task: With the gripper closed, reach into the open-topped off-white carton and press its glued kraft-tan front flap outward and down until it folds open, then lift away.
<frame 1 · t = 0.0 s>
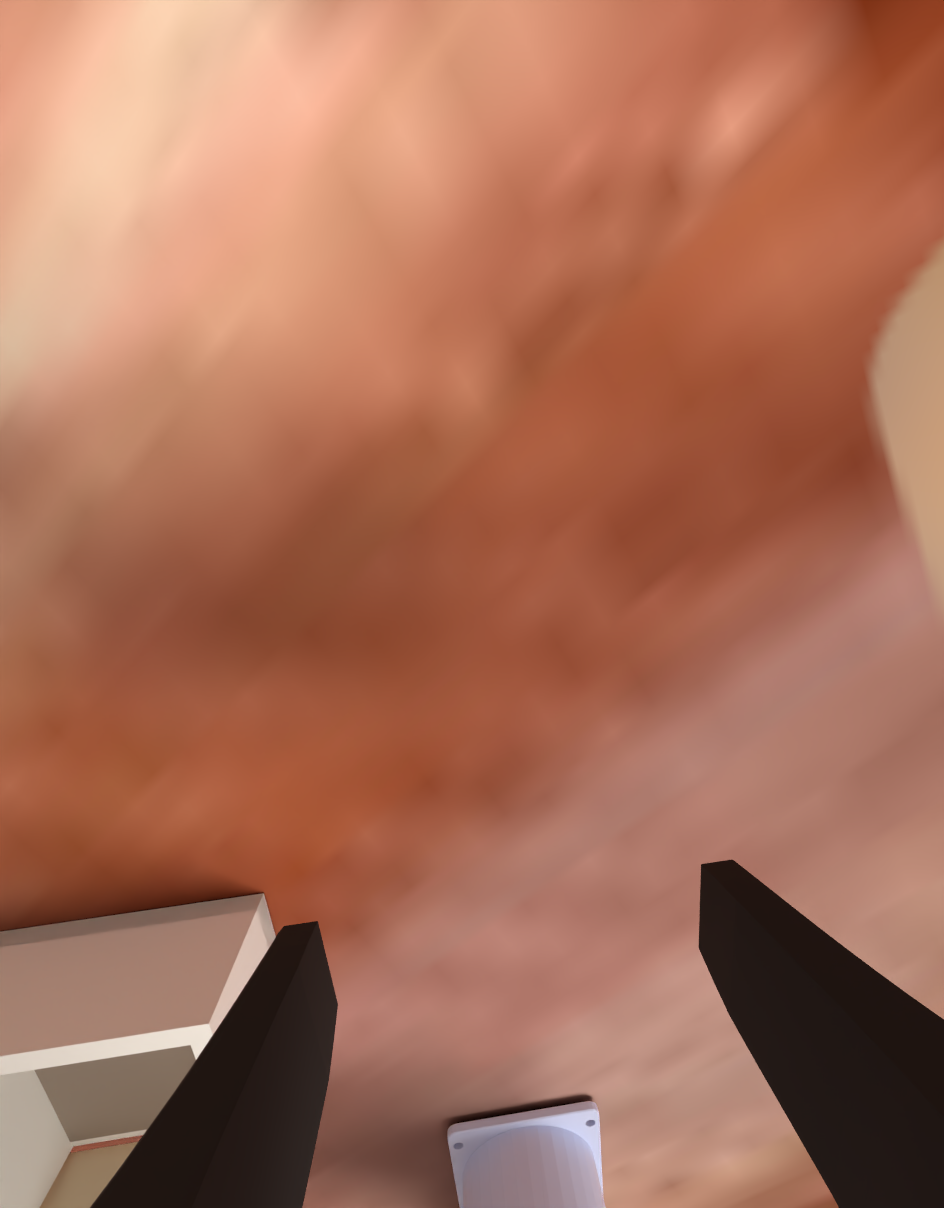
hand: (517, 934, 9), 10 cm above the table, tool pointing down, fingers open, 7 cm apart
flap: (165, 1203, 20), point 3 cm above the table, hinge at 0.0°
carton: (160, 1017, 21), on the table
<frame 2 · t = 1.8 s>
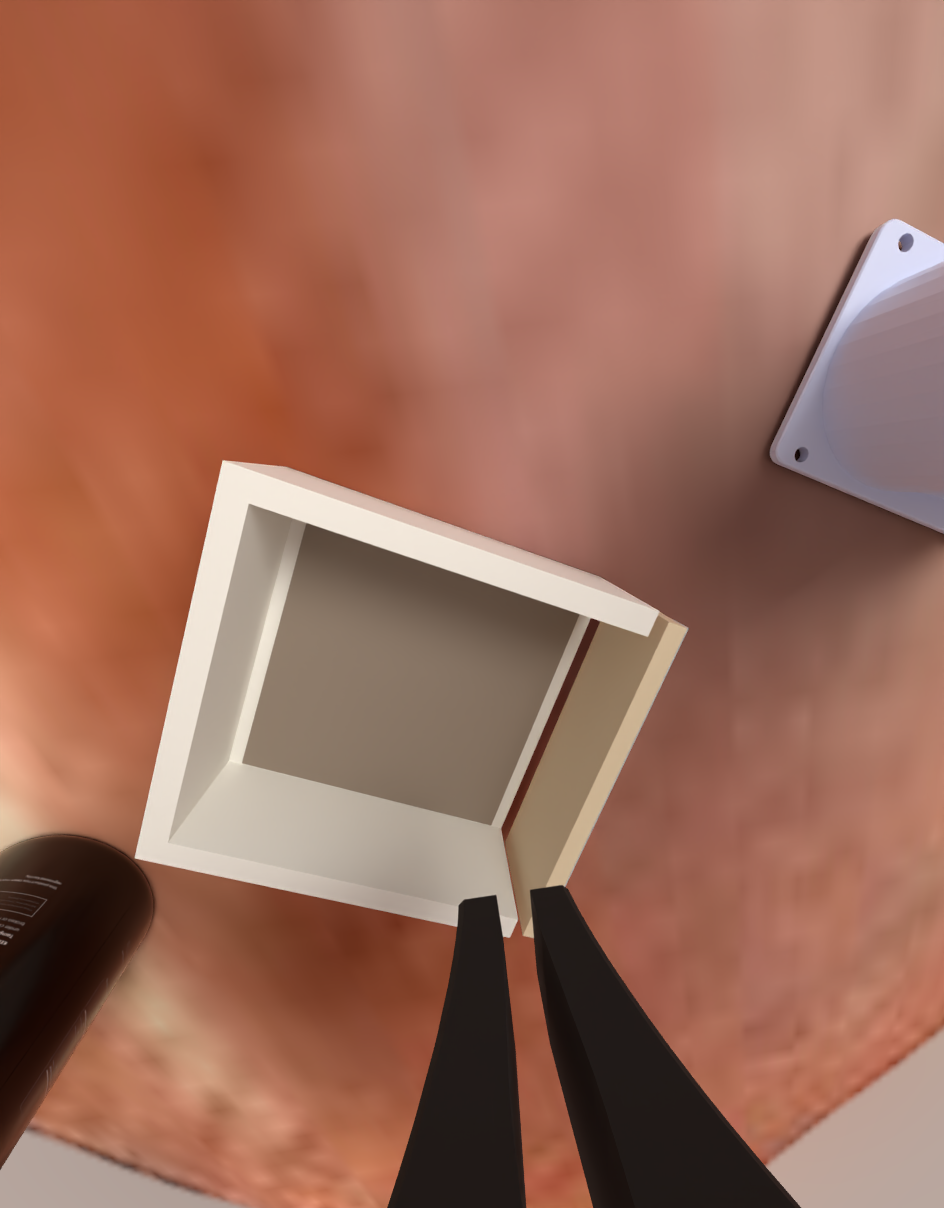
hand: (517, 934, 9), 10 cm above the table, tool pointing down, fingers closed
flap: (579, 756, 16), point 3 cm above the table, hinge at 0.0°
supplement bottle: (80, 891, 20), on the table
carton: (402, 670, 18), on the table
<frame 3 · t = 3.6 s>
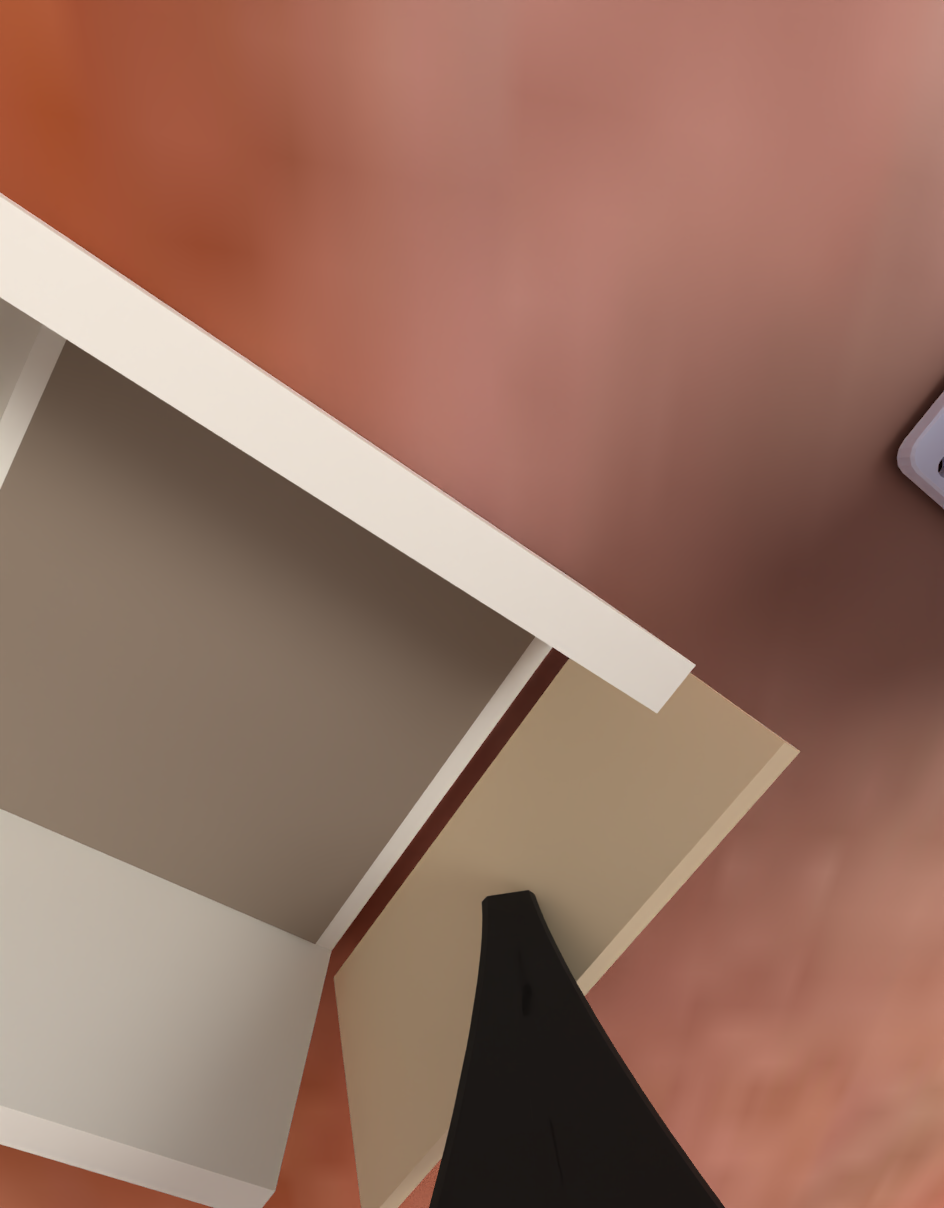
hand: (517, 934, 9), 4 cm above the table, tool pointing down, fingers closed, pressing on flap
flap: (505, 895, 9), point 3 cm above the table, hinge at 22.4°, touching gripper
carton: (221, 660, 11), on the table
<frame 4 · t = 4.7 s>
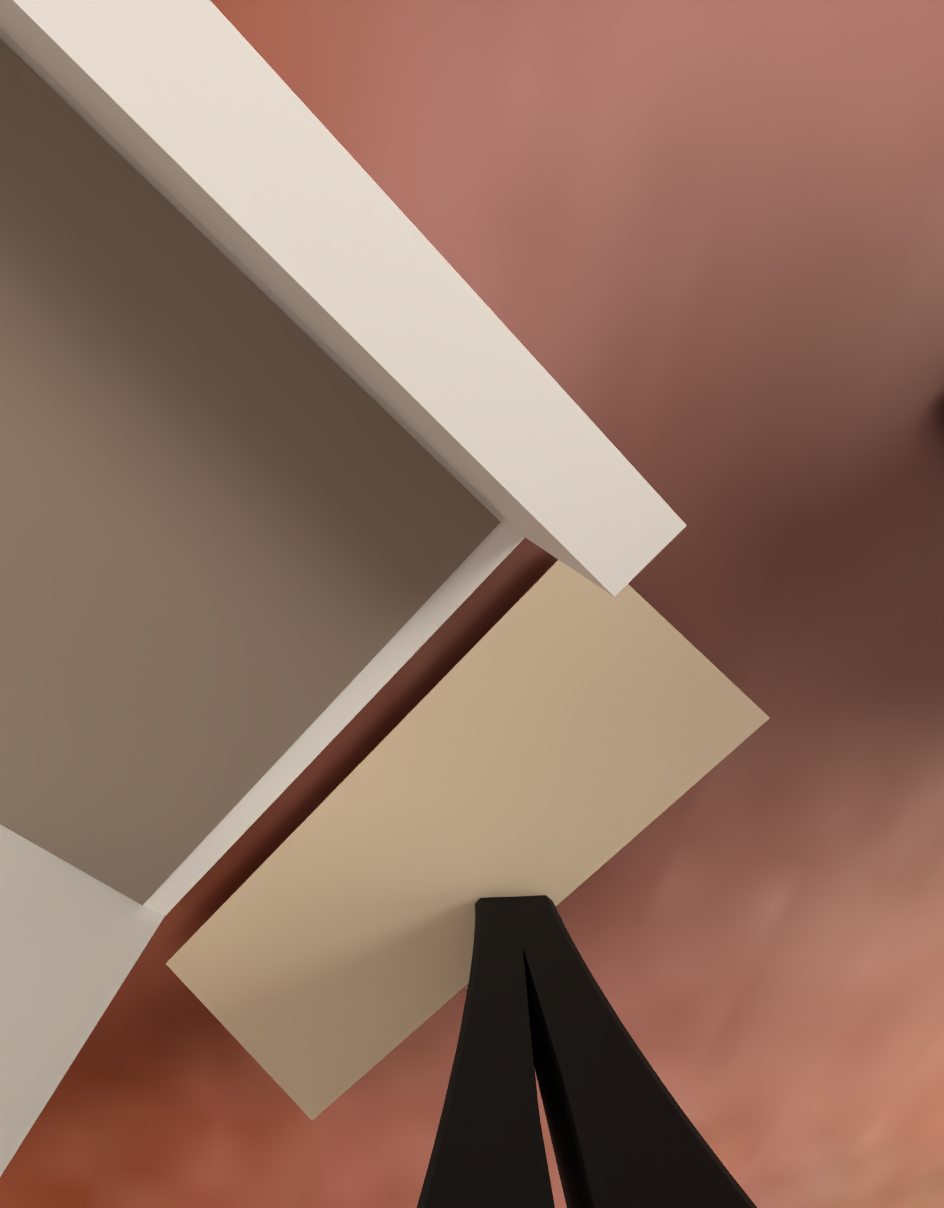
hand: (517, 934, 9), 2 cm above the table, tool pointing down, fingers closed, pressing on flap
flap: (438, 843, 9), point 1 cm above the table, hinge at 74.1°, touching gripper
carton: (65, 517, 8), on the table
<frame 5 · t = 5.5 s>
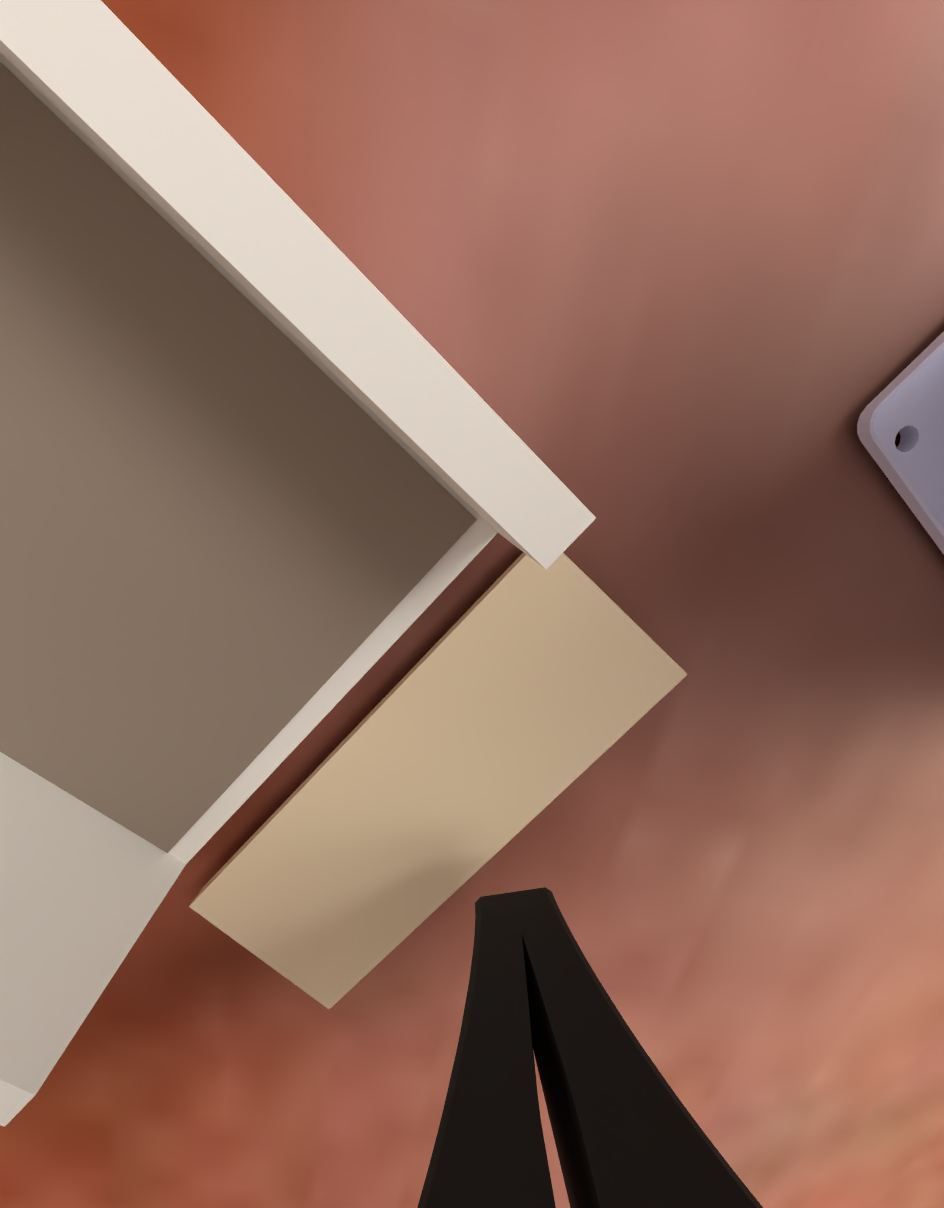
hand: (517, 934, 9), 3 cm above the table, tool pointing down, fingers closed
flap: (427, 787, 11), point 1 cm above the table, hinge at 84.1°
carton: (106, 514, 9), on the table
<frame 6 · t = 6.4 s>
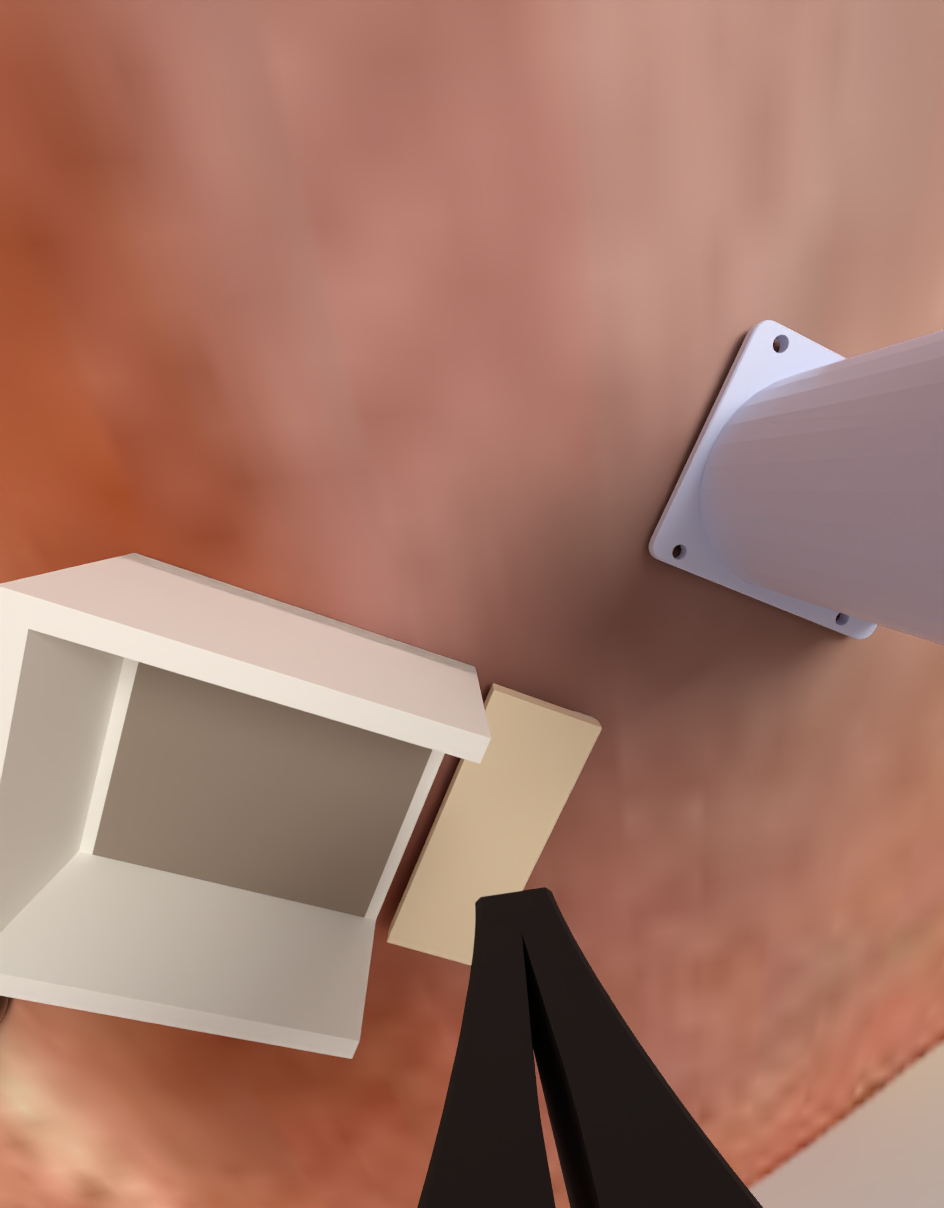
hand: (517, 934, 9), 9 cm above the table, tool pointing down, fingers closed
flap: (488, 834, 18), point 1 cm above the table, hinge at 87.1°
carton: (268, 758, 17), on the table
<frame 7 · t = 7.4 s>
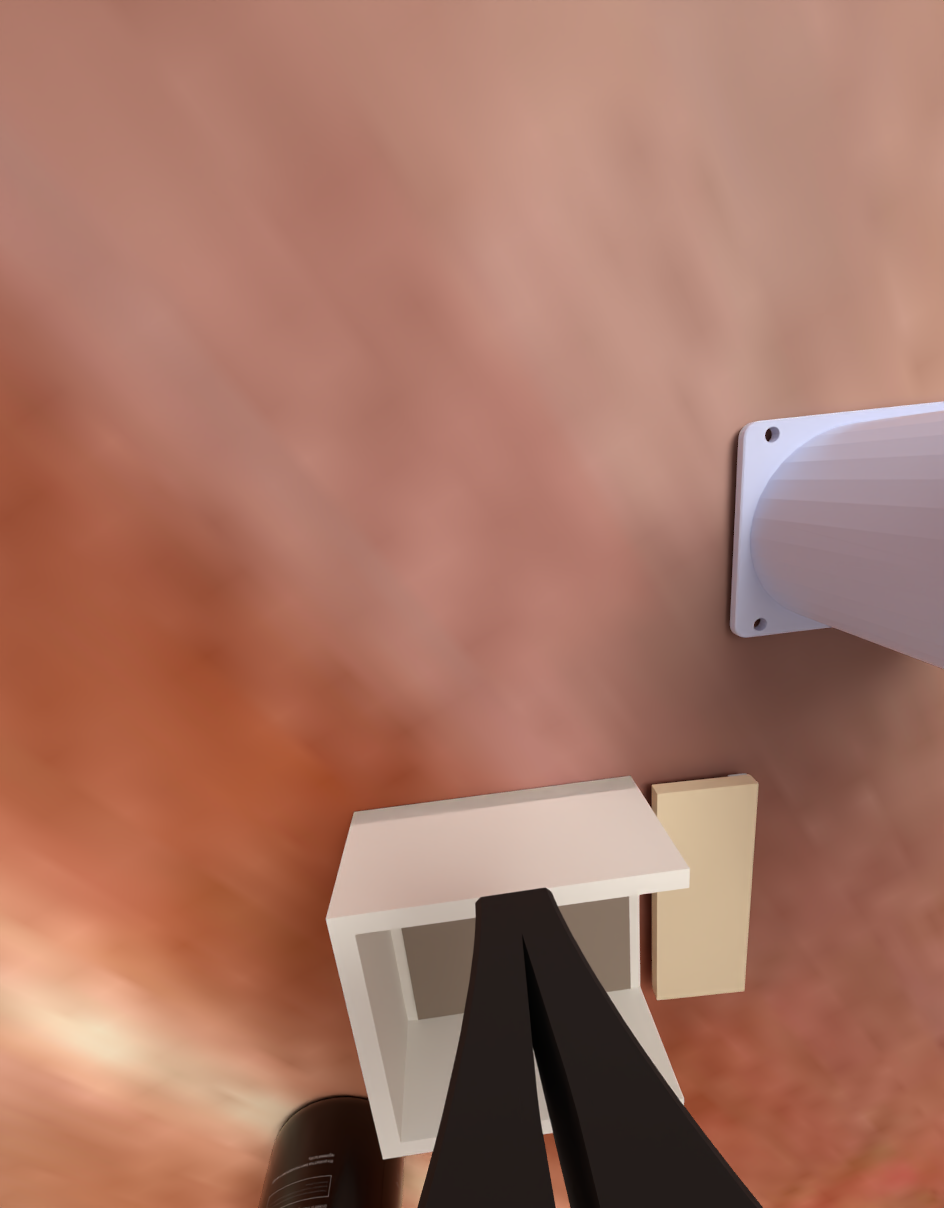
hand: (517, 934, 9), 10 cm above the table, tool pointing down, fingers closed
flap: (700, 893, 21), point 1 cm above the table, hinge at 87.8°
supplement bottle: (343, 1130, 25), on the table
carton: (505, 903, 22), on the table
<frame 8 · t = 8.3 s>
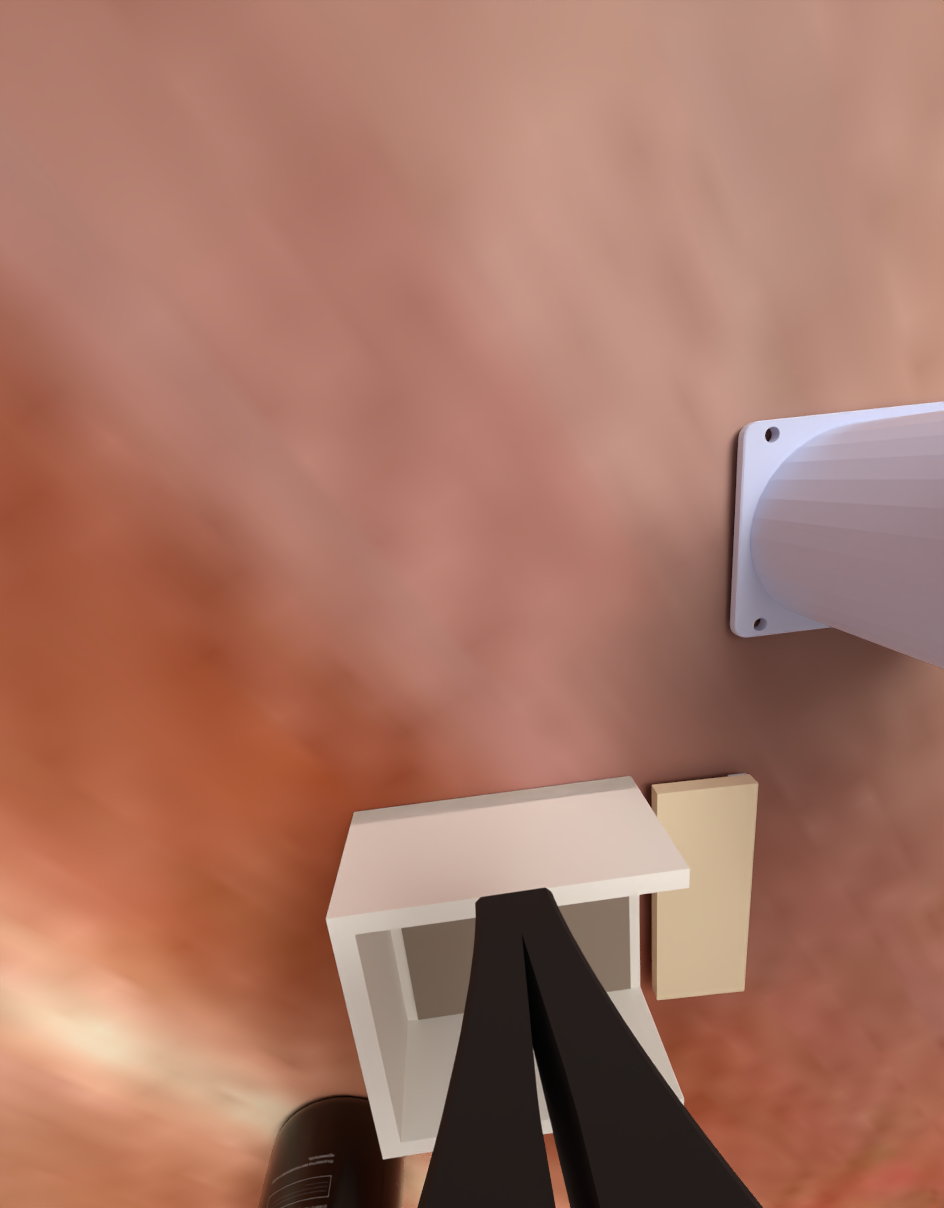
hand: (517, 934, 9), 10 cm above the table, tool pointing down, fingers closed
flap: (700, 892, 21), point 1 cm above the table, hinge at 87.9°
supplement bottle: (343, 1130, 25), on the table
carton: (505, 903, 22), on the table
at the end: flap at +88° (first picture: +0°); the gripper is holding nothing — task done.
